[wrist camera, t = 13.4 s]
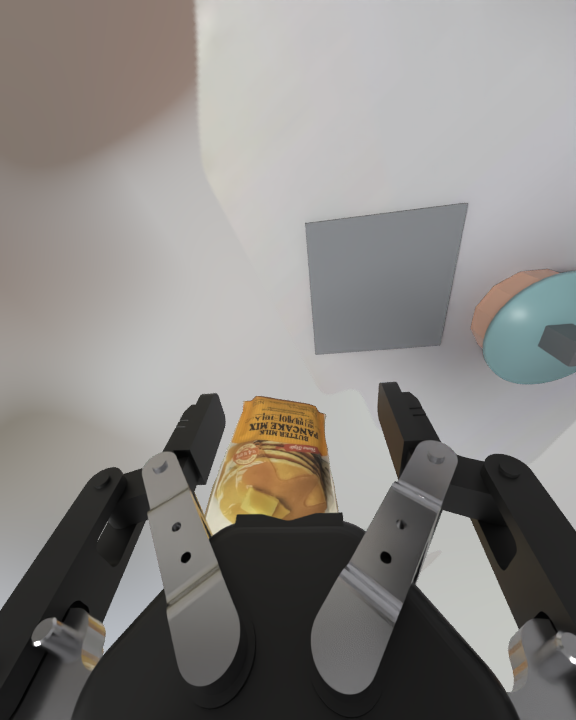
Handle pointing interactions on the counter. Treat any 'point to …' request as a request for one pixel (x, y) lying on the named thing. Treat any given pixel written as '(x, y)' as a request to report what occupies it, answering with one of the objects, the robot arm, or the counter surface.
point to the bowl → (502, 299)
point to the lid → (535, 333)
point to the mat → (383, 278)
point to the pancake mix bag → (274, 465)
